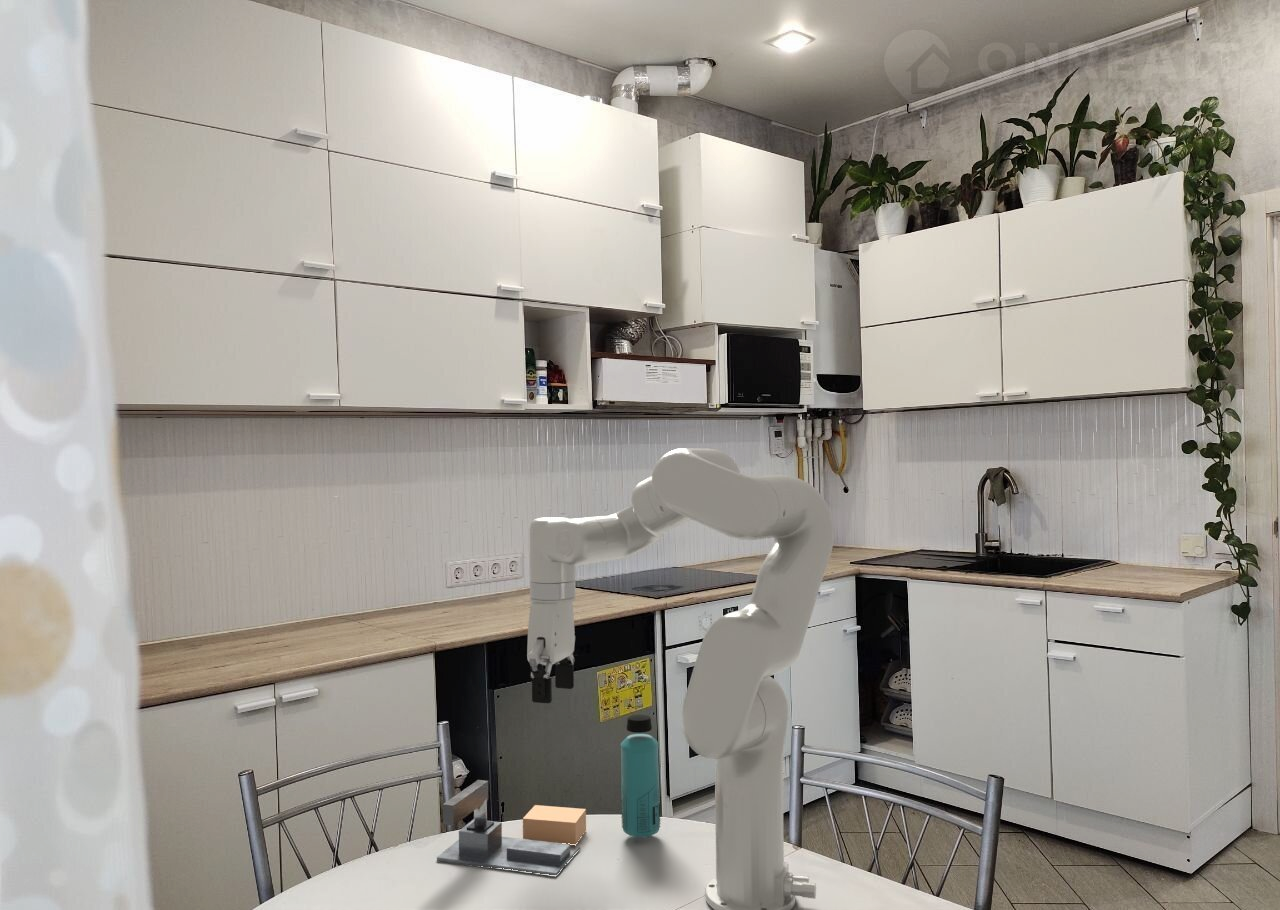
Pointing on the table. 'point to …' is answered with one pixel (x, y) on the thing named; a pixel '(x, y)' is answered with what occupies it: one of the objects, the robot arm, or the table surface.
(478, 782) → the t key
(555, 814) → the cover
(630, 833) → the beverage bottle
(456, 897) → the table surface
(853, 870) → the table surface
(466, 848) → the latch base
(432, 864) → the table surface
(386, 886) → the table surface
